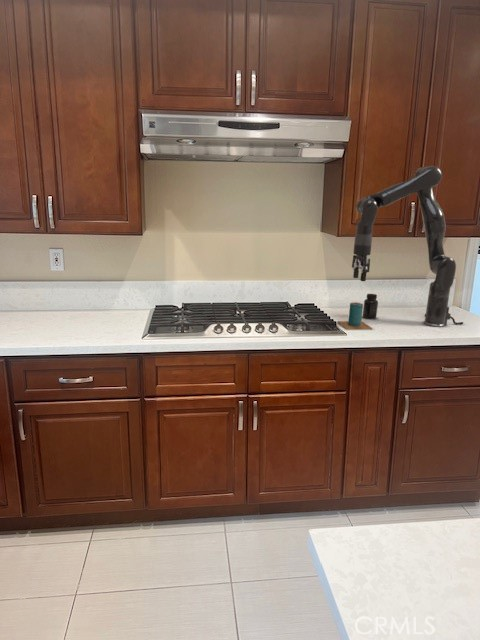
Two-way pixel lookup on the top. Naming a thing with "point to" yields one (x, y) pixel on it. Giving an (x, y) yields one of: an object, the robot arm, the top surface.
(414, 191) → the robot arm
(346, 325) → the cork coaster
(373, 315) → the supplement bottle
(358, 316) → the teal can
